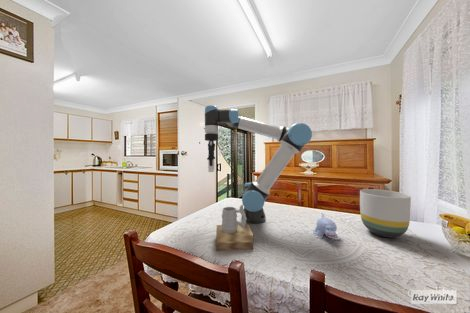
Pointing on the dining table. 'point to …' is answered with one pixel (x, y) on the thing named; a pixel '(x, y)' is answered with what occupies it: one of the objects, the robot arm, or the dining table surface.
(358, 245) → the dining table surface
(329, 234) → the light blue rounded figure
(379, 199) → the planter
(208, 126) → the robot arm
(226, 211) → the mug
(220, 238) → the wooden block
